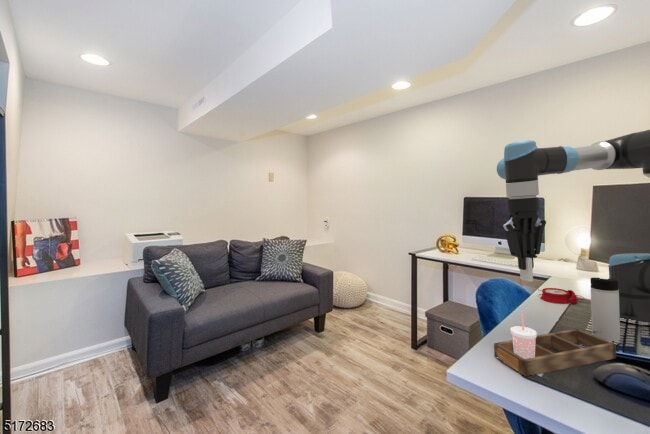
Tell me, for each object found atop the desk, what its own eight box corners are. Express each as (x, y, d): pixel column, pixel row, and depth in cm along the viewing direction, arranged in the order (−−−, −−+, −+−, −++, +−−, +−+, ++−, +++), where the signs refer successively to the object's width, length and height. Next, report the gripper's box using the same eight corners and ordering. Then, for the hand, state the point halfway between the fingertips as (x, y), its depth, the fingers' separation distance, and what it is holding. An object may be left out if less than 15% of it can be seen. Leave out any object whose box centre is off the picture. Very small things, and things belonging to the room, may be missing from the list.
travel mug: (592, 342, 89) (590, 278, 88) (592, 334, 94) (590, 273, 93) (621, 348, 85) (619, 281, 84) (619, 339, 90) (618, 276, 89)
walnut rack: (576, 341, 91) (576, 328, 91) (616, 358, 80) (615, 344, 80) (493, 356, 85) (492, 343, 85) (523, 377, 75) (523, 362, 75)
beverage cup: (512, 354, 86) (510, 307, 85) (538, 359, 82) (536, 311, 81) (510, 364, 81) (508, 315, 80) (538, 370, 77) (536, 318, 76)
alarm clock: (536, 287, 133) (577, 282, 126) (540, 300, 133) (582, 296, 125) (538, 294, 125) (583, 289, 117) (543, 308, 124) (588, 304, 116)
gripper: (529, 196, 86) (534, 274, 87) (492, 199, 84) (496, 280, 85) (554, 195, 79) (558, 280, 80) (513, 198, 77) (518, 286, 78)
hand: (526, 280), depth 83 cm, fingers closed
